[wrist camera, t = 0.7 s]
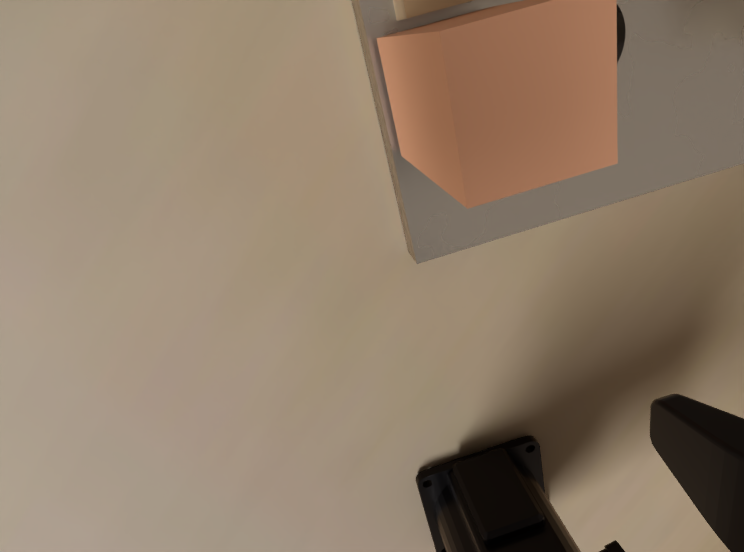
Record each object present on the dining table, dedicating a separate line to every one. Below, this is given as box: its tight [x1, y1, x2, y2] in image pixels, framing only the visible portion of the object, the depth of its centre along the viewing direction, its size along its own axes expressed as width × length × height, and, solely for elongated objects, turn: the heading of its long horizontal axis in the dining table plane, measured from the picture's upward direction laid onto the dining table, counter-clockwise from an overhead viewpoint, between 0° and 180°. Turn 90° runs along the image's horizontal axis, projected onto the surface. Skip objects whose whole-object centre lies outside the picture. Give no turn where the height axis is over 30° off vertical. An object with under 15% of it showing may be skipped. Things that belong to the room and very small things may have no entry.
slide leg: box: [377, 0, 618, 209], centre depth 13 cm, size 4×4×6 cm
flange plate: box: [352, 0, 744, 264], centre depth 17 cm, size 12×20×1 cm, turn 104°
